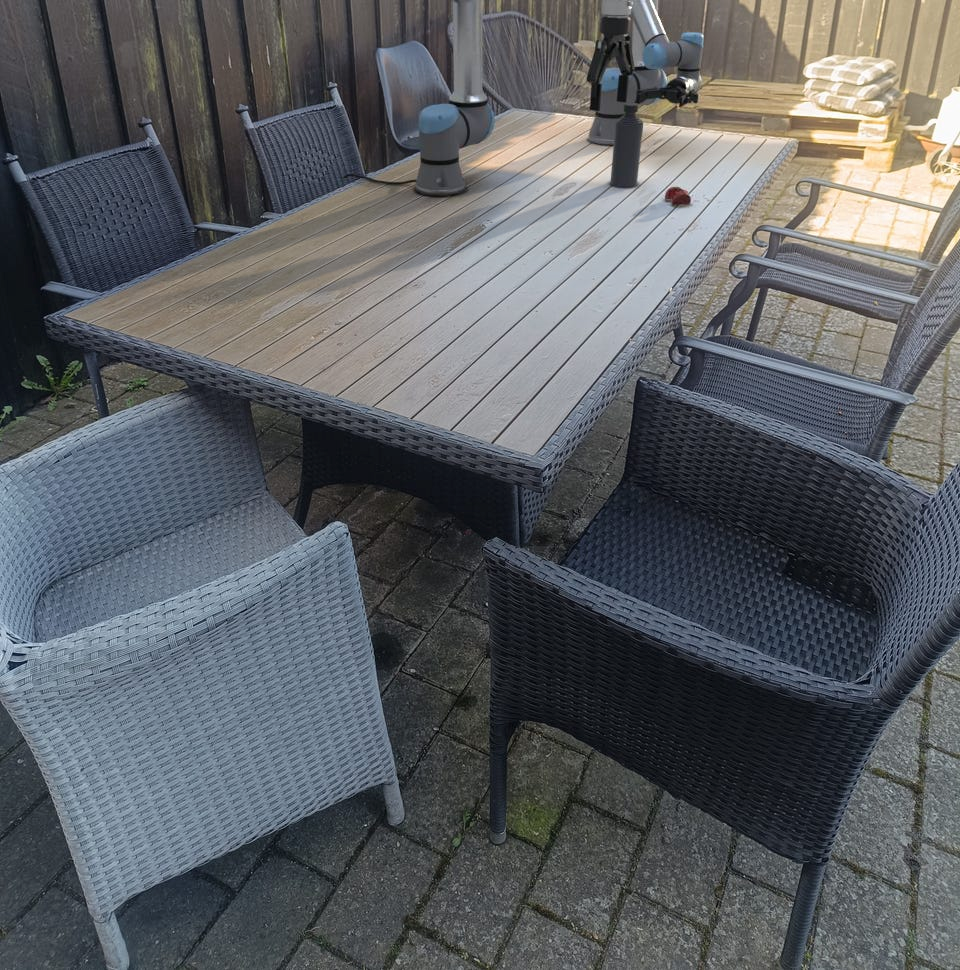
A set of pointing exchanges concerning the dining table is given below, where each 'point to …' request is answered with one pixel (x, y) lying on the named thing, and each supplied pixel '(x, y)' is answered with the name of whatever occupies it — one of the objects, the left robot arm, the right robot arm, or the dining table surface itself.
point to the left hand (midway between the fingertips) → (608, 106)
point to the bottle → (626, 151)
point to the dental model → (677, 196)
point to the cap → (630, 107)
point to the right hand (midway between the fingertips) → (659, 100)
